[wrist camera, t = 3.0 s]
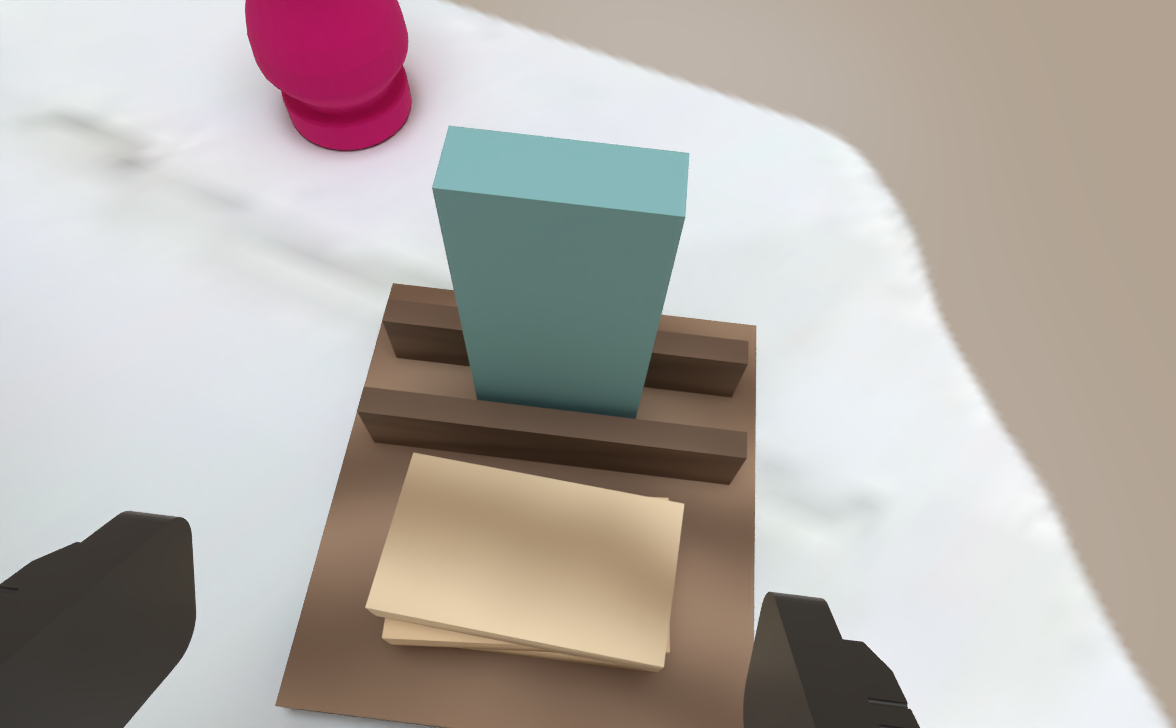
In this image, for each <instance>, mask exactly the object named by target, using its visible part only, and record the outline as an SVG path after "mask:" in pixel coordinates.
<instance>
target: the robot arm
mask: <svg viewBox="0 0 1176 728" xmlns="http://www.w3.org/2000/svg"><path fill="white" fill-rule="evenodd" d="M195 620H196V602H195V584H194V566H193V548H192V533H191V528H190V525H189V523H188V522H187V520H186V519H184V518H181V517H174V516H166V515H158V514H150V513H142V512H134V511H125V512H122V513H120V514H119V515H117V516H116V517H114V518H113V519H112V520H110V521H109V522H108V523H106V524H105V525H104V526H102V527H101V528H100V529H98V530H97V531H96V532H94V533H93V534H92V535H90V536H89V537H88V538H86V539H85V540H84V541H83V542H81V543H80V542H75V543H73V544H71V545H68V546H66V547H64V548H62V549H59V550H57V551H55V552H52V553H50V554H48V555H45V556H43V557H41V558H38V559H36V560H34V561H32V562H30V563H29V564H28V565H26V566H25V567H23V568H22V569H21V570H19V571H18V572H16V573H15V574H14V575H12V576H11V577H10V578H8V579H7V580H5V581H4V582H3V583H1V584H0V728H124V726H125V725H126V724H127V723H128V722H129V721H130V719H131V718H132V717H133V716H134V715H135V713H136V712H137V711H138V710H139V709H140V707H141V706H142V705H143V704H144V703H145V702H146V700H147V699H148V698H149V697H150V696H151V694H152V693H153V692H154V691H155V690H156V689H157V687H158V686H159V685H160V684H161V683H162V681H163V680H164V679H165V678H166V677H167V676H168V674H169V673H170V672H171V671H172V670H173V668H174V667H175V666H176V665H177V664H178V662H179V661H180V660H181V658H182V657H183V655H184V654H185V652H186V650H187V648H188V645H189V643H190V641H191V638H192V635H193V631H194V627H195ZM743 723H744V728H920V727H919V725H918V723H917V721H916V719H915V717H914V715H913V713H912V711H911V709H908V707H907V700H906V698H905V696H904V694H903V692H902V690H901V688H900V686H899V684H898V682H897V680H896V678H895V676H894V674H893V672H892V670H891V669H890V668H889V667H888V666H887V665H886V664H885V663H884V662H883V661H882V660H881V659H880V658H879V657H878V656H877V655H876V654H875V653H874V652H873V651H872V650H871V649H870V648H869V647H868V646H867V645H866V644H865V643H864V642H860V641H852V640H844V639H842V637H841V634H840V632H839V630H838V627H837V625H836V623H835V620H834V618H833V616H832V613H831V611H830V609H829V606H828V604H827V602H826V601H825V600H824V599H823V598H815V597H807V596H799V595H791V594H783V593H775V592H768V593H767V594H766V595H765V598H764V600H763V603H762V607H761V612H760V617H759V621H758V626H757V631H756V636H755V641H754V645H753V650H752V655H751V660H750V664H749V669H748V674H747V679H746V684H745V691H744V702H743Z"/></svg>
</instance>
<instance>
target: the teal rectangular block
mask: <svg viewBox="0 0 1176 728" xmlns="http://www.w3.org/2000/svg"><path fill="white" fill-rule="evenodd" d="M688 166H689V153H684V152H676V151H667V150H658V149H649V148H640V147H632V146H623V145H614V144H605V143H596V142H588V141H579V140H570V139H561V138H552V137H544V136H535V135H526V134H517V133H508V132H500V131H491V130H482V129H473V128H465V127H456V126H449V127H448V131H447V134H446V138H445V142H444V146H443V149H442V153H441V157H440V161H439V164H438V168H437V172H436V175H435V179H434V183H433V187H432V189H433V194H434V199H435V203H436V208H437V213H438V218H439V222H440V227H441V232H442V236H443V241H444V246H445V251H446V255H447V260H448V265H449V269H450V274H451V279H452V284H453V288H454V293H455V298H456V302H457V307H458V312H459V317H460V321H461V326H462V331H463V335H464V340H465V345H466V350H467V354H468V359H469V364H470V368H471V373H472V378H473V383H474V387H475V392H476V397H477V400H482V401H490V402H498V403H507V404H515V405H524V406H532V407H540V408H549V409H557V410H565V411H574V412H582V413H591V414H599V415H607V416H616V417H624V418H633V419H636V415H637V411H638V407H639V403H640V399H641V395H642V391H643V387H644V383H645V379H646V375H647V371H648V366H649V362H650V358H651V354H652V350H653V346H654V342H655V338H656V334H657V330H658V326H659V322H660V318H661V313H662V309H663V305H664V301H665V297H666V293H667V289H668V285H669V281H670V277H671V273H672V269H673V265H674V261H675V256H676V252H677V248H678V244H679V240H680V236H681V232H682V228H683V224H684V220H685V212H686V197H687V181H688Z"/></svg>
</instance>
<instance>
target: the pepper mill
mask: <svg viewBox="0 0 1176 728" xmlns="http://www.w3.org/2000/svg"><path fill="white" fill-rule="evenodd" d="M245 16H246V26H247V35H248V38H249V42H250V45H251V48H252V51H253V54H254V57H255V60H256V63H257V65H258V67H259V68H260V70H261V71H262V73H263V74H264V76H265V77H266V79H267V80H268V81H270V82H271V83H272V84H273V85H274V86H275V87H277V88H278V89H280V90H281V92H282V97H283V100H284V103H285V105H286V108H287V110H288V113H289V115H290V118H291V120H292V122H293V124H294V126H295V128H296V129H297V130H298V132H299V133H300V134H301V135H303V136H304V137H305V138H306V139H307V140H309V141H311V142H313V143H315V144H317V145H320V146H322V147H325V148H329V149H337V150H345V151H347V150H356V149H363V148H367V147H370V146H373V145H376V144H379V143H381V142H382V141H384V140H386V139H387V138H389V137H391V136H392V135H394V134H395V133H396V132H397V131H398V130H399V129H400V128H401V126H402V125H403V124H404V122H405V121H406V119H407V118H408V115H409V112H410V109H411V95H410V90H409V85H408V81H407V76H406V72H405V69H404V67H403V63H404V61H405V58H406V54H407V51H408V33H407V29H406V25H405V21H404V18H403V14H402V11H401V9H400V6H399V3H398V1H397V0H246V3H245Z"/></svg>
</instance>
